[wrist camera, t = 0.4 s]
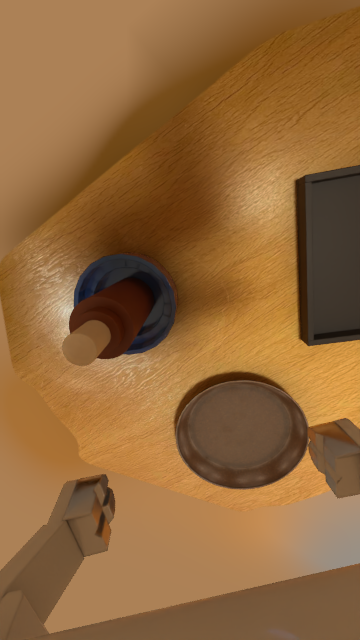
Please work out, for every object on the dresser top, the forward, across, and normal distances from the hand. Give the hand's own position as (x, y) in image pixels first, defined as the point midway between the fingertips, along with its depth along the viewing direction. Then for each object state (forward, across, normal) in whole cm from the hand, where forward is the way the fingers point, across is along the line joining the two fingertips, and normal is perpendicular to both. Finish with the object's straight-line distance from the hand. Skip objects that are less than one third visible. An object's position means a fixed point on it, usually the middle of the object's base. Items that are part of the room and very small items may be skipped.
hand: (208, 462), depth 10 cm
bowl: (+29, +6, -2) cm, 30 cm away
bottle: (+29, +6, -2) cm, 29 cm away
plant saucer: (+28, -6, +23) cm, 36 cm away
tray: (+26, -26, -1) cm, 37 cm away
